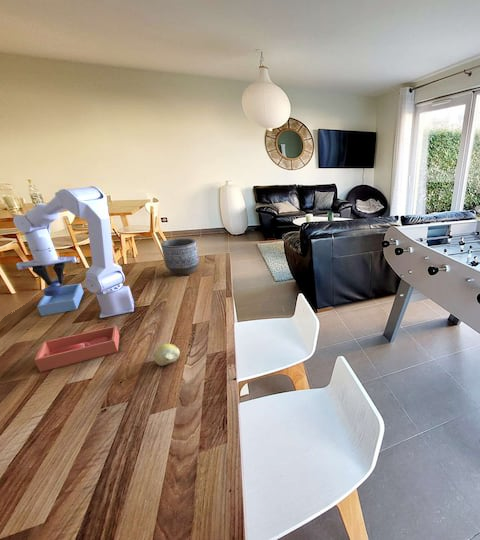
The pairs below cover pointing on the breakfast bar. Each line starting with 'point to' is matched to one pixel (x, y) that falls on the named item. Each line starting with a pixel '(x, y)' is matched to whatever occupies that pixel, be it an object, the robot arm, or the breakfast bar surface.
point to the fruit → (166, 354)
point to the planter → (180, 255)
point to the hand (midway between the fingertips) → (56, 283)
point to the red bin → (73, 356)
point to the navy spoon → (53, 288)
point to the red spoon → (79, 345)
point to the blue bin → (61, 300)
